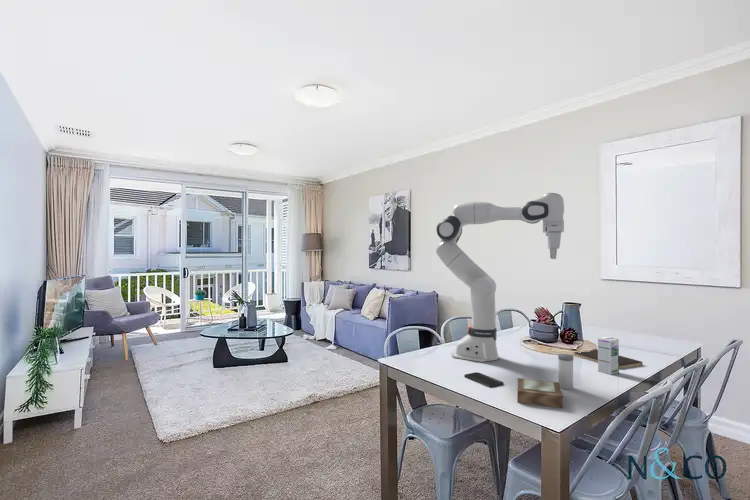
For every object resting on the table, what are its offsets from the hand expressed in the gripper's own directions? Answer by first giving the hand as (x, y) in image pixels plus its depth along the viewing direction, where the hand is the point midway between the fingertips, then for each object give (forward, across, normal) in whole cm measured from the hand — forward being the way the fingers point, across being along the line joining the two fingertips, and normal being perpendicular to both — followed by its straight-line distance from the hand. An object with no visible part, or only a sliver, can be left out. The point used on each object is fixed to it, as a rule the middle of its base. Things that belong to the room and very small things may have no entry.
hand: (553, 258), depth 180 cm
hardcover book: (+49, -15, +24) cm, 57 cm away
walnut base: (+48, +47, -8) cm, 68 cm away
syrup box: (+48, +5, +21) cm, 53 cm away
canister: (+48, +32, +2) cm, 58 cm away
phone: (+49, +35, -28) cm, 66 cm away
